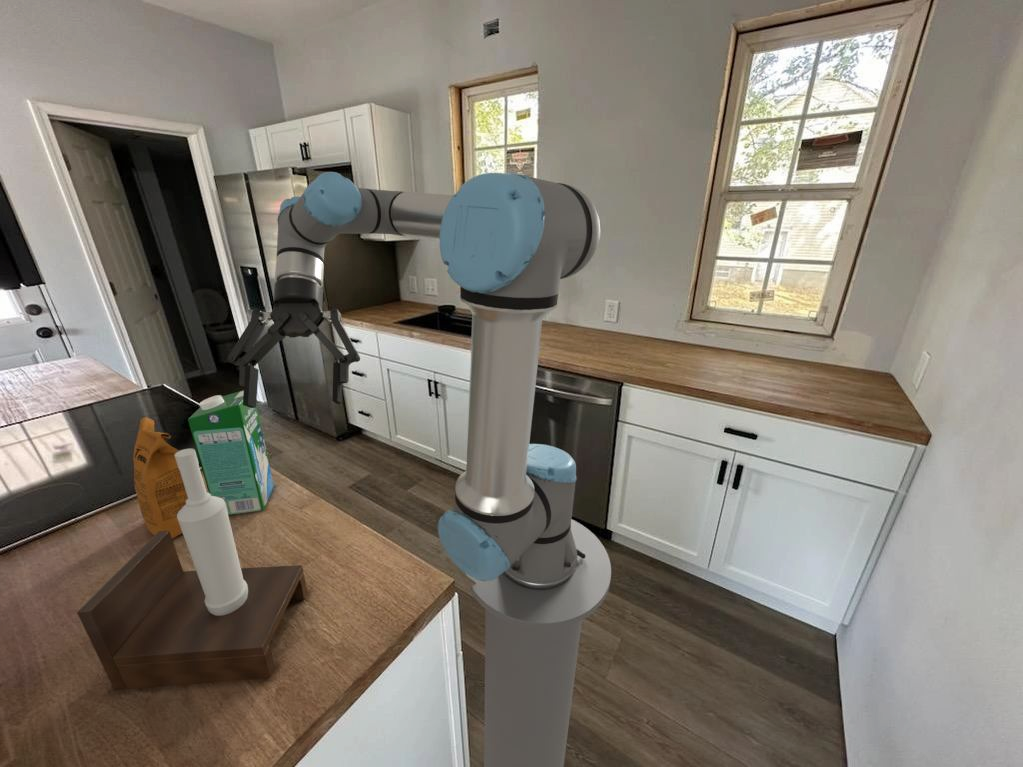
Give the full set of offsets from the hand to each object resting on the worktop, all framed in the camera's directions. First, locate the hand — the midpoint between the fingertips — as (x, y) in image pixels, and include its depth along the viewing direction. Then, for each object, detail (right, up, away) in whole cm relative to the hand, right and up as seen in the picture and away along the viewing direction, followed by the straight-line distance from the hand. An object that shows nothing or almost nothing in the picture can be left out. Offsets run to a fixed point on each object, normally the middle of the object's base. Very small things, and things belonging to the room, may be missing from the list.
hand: (293, 404), depth 67 cm
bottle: (-6, -29, -7) cm, 30 cm away
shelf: (-7, -34, -6) cm, 35 cm away
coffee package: (-32, -25, +17) cm, 44 cm away
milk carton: (-23, -23, +24) cm, 40 cm away
